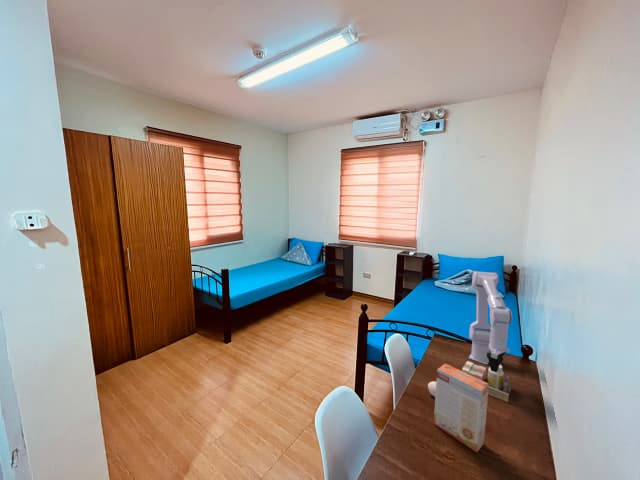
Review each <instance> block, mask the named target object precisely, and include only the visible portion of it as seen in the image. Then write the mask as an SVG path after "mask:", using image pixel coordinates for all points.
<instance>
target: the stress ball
mask: <svg viewBox="0 0 640 480" xmlns="http://www.w3.org/2000/svg"><path fill="white" fill-rule="evenodd" d="M427 390H428V392H429V393H430V394H431V396H433V397H434V398H433V400H434V401H435V396H436V381H432V380H431V381H430V382H428V384H427Z"/></svg>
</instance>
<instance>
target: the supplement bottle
mask: <svg viewBox="0 0 640 480" xmlns="http://www.w3.org/2000/svg"><path fill="white" fill-rule="evenodd" d="M504 375H505V373H504V371H503V366H502V365H501V364H500V365H499V368H498V371H497V373H496V372H494V371H491V369H490V366H489V367H488V370H487V380H486V383H488V384H489V386H490V387H492V388H495V389H497V390H500V391H502V390H503V385H504V384H503V382H504Z"/></svg>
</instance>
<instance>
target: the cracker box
mask: <svg viewBox="0 0 640 480" xmlns="http://www.w3.org/2000/svg"><path fill="white" fill-rule="evenodd" d="M435 382H436V396H435V397H434V398H435V400H434V415H433V424H434V425H435V426H437V427H438V428H439V429H440V430H442V431H444V432H445V433H447V434H448V435H450V436H451V437H453V438H455V440H457V441H458V442H459V443H462V444H463V445H465V446H466V447H467V448H468V449H470V450H472V451H473V452H475V453H478V452H479V451H480V449H481V448H482V446H484V444H485V433H486V425H487V424H486V421H487V410H488V399H489V394H488V387H489V384H488V383H487V381H485V380H484V381H482V380H480V379H478V378H475V377H473V376H471V375H469V374H467V373H465V372H462V370H460V369H459V368H456V367H454V366H452V365H450V364H447V363H444V364H442V365H441V366H440V367H438V368H437V369H436V381H435Z"/></svg>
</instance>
